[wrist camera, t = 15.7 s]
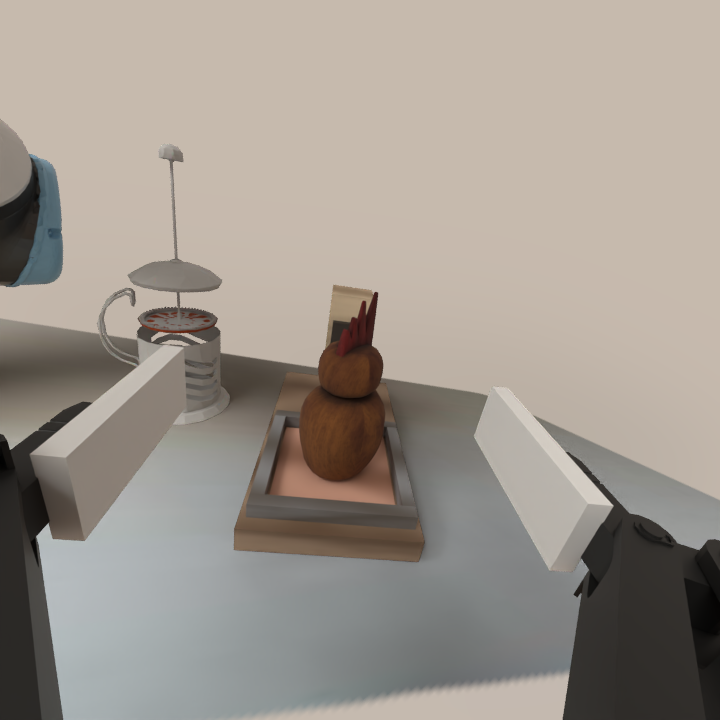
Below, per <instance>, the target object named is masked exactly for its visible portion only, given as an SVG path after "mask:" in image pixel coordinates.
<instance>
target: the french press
mask: <svg viewBox="0 0 720 720" xmlns="http://www.w3.org/2000/svg"><path fill="white" fill-rule="evenodd" d="M158 152H159V157H160V158H163V159H168V160H169V161H170V171H171V172H170V173H171V191H172V210H173V229H174V248H175V259H172V260H170V261H161V262H160V261H159V262H152V263H149V264H147V265H144V266H143V267H141V268H139V269H137V270H135V271H133V272H131V273H130V274H128V277H129V278H130V281H131V282H132V283H133V284H134V285H137V286H140V287H143V288H148V289H153V290H158V291H169V292H177V303H178V308H176V307H174V308H173V307H171V308H169V307H168V308H166V307H165V308H158V309H152V310H149V311H146V312H144V313H143V314H141V315H140V316H139V317H138V320H139V322H140V323H141V325H142V327H140V328H139V330H138V331H137V334H138V336H137V342H138V352H139V358H138V357H136V356H134V355H131V354H128V353H125V352H123V351H122V350H120V349H119V348H117V347H116V346H115V345H114V344H113V343H112V341H111V340H110V339H109V337H108V335H107V333H106V329H105V324H104V314H105V310H106V308H107V307H108V306H109V305H110V304H111V303H112V302H113V301H114V300H115V299H117V298H119V297H122V296H124V295H128V296H129V297H130V302H131V305H132V306H134V305H135V301H136V300H135V291H133V289H131V288H125V289H123V290H120V291H118V292H115V293H114V294H113V295H112V296H111V297H110V298H108V299H107V300H106V302H105V304H104V306H103V308H102V311H101V313H100V315H99V319H98V323H97V325H98V330H99V334H100V338H101V341H102V343H103V345H104V347H105V348H106V349H107V351H108V352H109V353H110V354H111V355H112V356H114V357H116V358H117V359H119V360H120V361H123V362H126V363H128V364H131V365H134V366H136V367H138V366H139V365H140V364H141V363H143V362H144V361H145V360H146V359H147V358H149V357H150V356H151V355H152V354H154V353H155V352H156V351H157V350H159V349H160V348H161V347H162V346H163V345H158V344H159V343H162V342H164V341H168V340H180V341H183V342H186V343H188V344H190V345H191V346H182V345H171V344H170V345H169V346H177V347H184V357H185V362H187V363H189V364H191V365H193V366H196V367H198V368H196V367H191V366H187V365H185V379H186V402H187V406H186V407H185V409H184V410H183V411H182V412H181V414H180V415H179V416H178V418H177V419H176V420H175V422H174V423H173V424H172V425H186V424H191V423H195V422H200V421H205V420H207V419H209V418H211V417H213V416H215V415H217V414H219V413H221V412H222V411H223V410H224V409H225V408H226V407H227V406H228V405H229V400H230V395H229V394H228V392H227V391H226V390H225V388H223V387H222V386H221V376H220V330H219V329H218V328H217V327H215V324H216V322H217V319H218V318H217V317H215V315H213V314H212V313H209V312H206V311H204V310H203V311H202V310H198V309H197V310H196V309H195V308H194V309H193V308H192V309H189V308H180V296H179V292H205V291H211V290H215V289H217V288H219V286H220V284H221V283H222V280H221V279H220V278H219V277H218V276H216V275H215V274H214V273H213V272H211V271H210V270H207V269H205V268H203V267H201V266H198V265H195V264H192V263H188V262H183V261H181V260H179V259H178V258H177V240H176V220H175V200H174V182H173V162H174V161H180V162H183V154H182V152H181V151H180V149H179V148H178V147H176V146H174V145H171V144H163V145H162V146H161V147H160V148H159V151H158ZM127 290H129V291H131V294H130V293H126V292H125V291H127ZM122 292H124V293H122ZM120 293H122V294H120ZM118 294H120V295H118ZM102 331H103V333H104V335H105V337H106V340H107V341H108V342H109V344H110V345H111V346H112V348H114V349H115V350H117V351H118V352H120V353H121V354H123V355H126V356H129V357H132V358H135V359H137V360H138V362H139V365H137V364H135V363H133V362H130V361H127V360H124V359H122V358H120V357H118V356H117V355H115V354H114V353H113V352H112V351H111V350H110V348H109V347H108V346H107V344H106V342H105V340H104V338H103V335H102ZM158 332H165V333H172V334H168V335H165V336H163V337H159V338H157V339H156V340H155V341H153V342H152V343H151V337H152V336H154V335H155V334H156V333H158ZM173 333H189V334H191V335H193V336H195V337H197V338H200V339H202V340H205V341H208V342H207V343H203V344H200V343H197V342H195V341H193V340H191V339H189V338H186V337H184V336H182V335H175V334H174V335H173ZM198 362H200V363H198ZM206 362H210V363H213V367H208V366H206V365H203V364H201V363H206ZM211 373H214V376H213V377H211V376H207V375H205V374H211Z"/></svg>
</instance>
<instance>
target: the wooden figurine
mask: <svg viewBox="0 0 720 720" xmlns="http://www.w3.org/2000/svg"><path fill="white" fill-rule="evenodd" d="M377 298H378V293H377V292H375V293H374V295H373V298H372V300H371V303H370V306H369V309H368V311H367V314H366V301H364V300H363V301H362V303H361V307H360V310H359V314H358V317H357V318H355V317H352V318H351V322H350V325H349V329H348V330H346V329H343V332H342V335H341V338H340V341H335V342H333V343H330V344H329V345H328V347H327V348H326V349H325V350H324V351H323V353H322V355H321V357H320V361H319V366H318V375H319V381H320V384H321V385H319V386H317V387H316V388H315V389H314V390H312V391H311V392H310V393H309V395H308V396H307V397H306V399H305V401H304V403H303V405H302V407H301V412H300V418H299V434H300V442H301V446H302V451H303V456H304V460H305V462H306V464H307V466H308V467H309V468H310V470H311V471H312V472H313V473H314V474H316V475H317V476H319V477H320V478H323V479H328V480H343V479H347V478H351V477H353V476H355V475H357V474H359V473H360V472H361V471H362V470H363V469H364V468H365V467H366V466H367V465H368V464H369V463H370V461H371V460H372V458H373V457H374V456H375V454H376V452H377V450H378V448H379V446H380V444H381V440H382V436H383V430H384V423H385V414H386V413H385V408H384V404H383V402H382V400H381V397H380V396H379V394H378V392H377V391H376V389H377V387H378V386H379V384H380V380H381V377H382V373H383V360H382V357H381V355H380V353H379V352H378V350H377V349H376V348H374V347H373V346H372V338H373V331H374V324H375V316H376V308H377V300H378V299H377Z"/></svg>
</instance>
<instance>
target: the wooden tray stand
mask: <svg viewBox="0 0 720 720" xmlns="http://www.w3.org/2000/svg"><path fill="white" fill-rule="evenodd" d="M372 298H373V293H372V291H371V290H366V289H358V288H352V287H345V286H338V285H333V292H332V300H331V308H330V317H329V324H328V332H327V340H326V348H327V347H328V345H329V344H330V343H333V342H335V341H340V338H341V335H342V332H343V329H346V330H348V329H349V325H350V322H351V318H352V317H355V318H357V317H358V314H359V310H360V307H361V303H362V301H363V300H364V301H366V314H367V311H368V309H369V306H370V303H371V300H372ZM326 348H325V349H326ZM319 385H321V384H320V381H319V375H311V374H302V373H294V372H287V374H286V377H285V380H284V383H283V385H282V388H281V391H280V394H279V397H278V400H277V403H276V406H275V409H274V412H273V415H272V418H271V421H270V424H269V427H268V430H267V433H266V436H265V439H264V442H263V445H262V448H261V451H260V454H259V457H258V460H257V463H256V466H255V469H254V472H253V475H252V478H251V481H250V484H249V487H248V490H247V493H246V496H245V499H244V502H243V504H242V507H241V510H240V513H239V516H238V519H237V522H236V525H235V528H234V550H243V551H259V552H274V553H289V554H305V555H320V556H335V557H351V558H366V559H382V560H397V561H412V562H419V558H420V555H421V552H422V549H423V546H424V543H425V542H424V538H423V534H422V529H421V525H420V521H419V517H418V513H417V509H416V505H415V501H414V497H413V493H412V488H411V484H410V480H409V476H408V472H407V468H406V464H405V460H404V456H403V452H402V447H401V443H400V439H399V435H398V431H397V427H396V423H395V419H394V415H393V411H392V407H391V402H390V398H389V394H388V390H387V386H386V383H380V384H379V386H378V387H377V389H376V391H377V392H378V394H379V396H380V397H381V400H382V402H383V404H384V408H385V413H386V414H385V423H384V430H383V436H382V440H381V444H380V446H379V448H378V450H377V452H376V454H375V456H374V457H373V458H372V460H371V461H370V463H369V464H368V465H367V466H366V467H365V468H364V469H363V470H362V471H361V472H360V473H359V474H357V475H355V476H353V477H351V478H347V479H343V480H328V479H323V478H320V477H319V476H317V475H316V474H314V473H313V472H312V471H311V470H310V468H309V467H308V466H307V464H306V462H305V460H304V456H303V451H302V446H301V442H300V434H299V418H300V412H301V407H302V405H303V403H304V401H305V399H306V397H307V396H308V395H309V393H310V392H311V391H312V390H314V389H315V388H316V387H317V386H319Z"/></svg>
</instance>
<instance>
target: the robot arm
mask: <svg viewBox="0 0 720 720" xmlns="http://www.w3.org/2000/svg"><path fill="white" fill-rule="evenodd" d="M61 221H62V219H61V207H60V198H59V189H58V182H57V176H56V172H55V169H54V167H53V166H52V164H50V163H49V162H48V161H47V160H44V159H40V158H38V157H36V156H35V155H32V154H28V152H27V150H26V147H25V146H24V144H23V142H22V140H21V139H20V138H19V137H18V135H17V134H16V133H15V132H14V131H13V130H12V129H11V128H10V127H9V126H8V125H7V124H6V123H4V122H3V121H2V120H1V119H0V285H3V286H6V287H16V286H19V285H32V284H48V283H51V282H54V281H55V280H56V279H57V278H58V277H59V276H60V274H61V271H62V265H63V242H62V234H61V230H62V227H61ZM186 406H187V402H186V379H185V357H184V347H177V346H169V345H163V346H162V347H161V348H160V349H159V350H157V351H156V352H155V353H154V354H152V355H151V356H150V357H149V358H147V359H146V360H145V361H144V362H143V363H141V364H140V365H139V366H138V367H136V368H135V369H134V370H133V371H131V372H130V373H129V374H128V375H127V376H125V377H124V378H123V379H122V380H120V381H119V382H118V383H117V384H115V385H114V386H113V387H112V388H111V389H109V390H108V391H107V392H106V393H104V394H103V395H102V396H101V397H99V398H98V399H97V400H96V401H95V402H93V403H90V402H81V403H79V404H76V405H74V406H72V407H69V408H67V409H65V410H63V411H62V412H60V413H59V414H58V415H56V416H55V417H54V418H52V419H51V420H50V422H47V423H46V424H44V425H43V426H42V427H40V428H39V431H35V432H34V433H33V434H31V435H30V436H29V437H27V438H26V439H25V440H23V441H22V442H21V443H19V444H18V445H17V446H15V447H14V448H13V449H11V450H10V449H9V445H8V442H7V440H6V438H5V437H4V435H2V434H0V720H63V714H62V707H61V700H60V693H59V686H58V679H57V672H56V665H55V658H54V651H53V644H52V637H51V630H50V623H49V616H48V609H47V601H46V594H45V587H44V580H43V573H42V566H41V559H40V552H39V545H38V542H37V538H36V536H37V535H38V534H39V533H40V531H41V530H42V529H43V528H44V527H45V526H46V525H47V524H48V523H49V527H50V530H51V534H52V538H53V539H62V540H78V541H85V540H86V538H87V537H88V536H89V534H90V533H91V532H92V530H93V529H94V528H95V527H96V525H97V524H98V523H99V521H100V520H101V519H102V517H103V516H104V515H105V513H106V512H107V511H108V509H109V508H110V507H111V505H112V504H113V503H114V501H115V500H116V499H117V497H118V496H119V495H120V493H121V492H122V491H123V489H124V488H125V487H126V485H127V484H128V483H129V481H130V480H131V479H132V477H133V476H134V475H135V473H136V472H137V471H138V469H139V468H140V467H141V466H142V464H143V463H144V462H145V460H146V459H147V458H148V456H149V455H150V454H151V452H152V451H153V450H154V448H155V447H156V446H157V444H158V443H159V442H160V440H161V439H162V438H163V436H164V435H165V434H166V432H167V431H168V430H169V428H170V427H171V426H172V424H173V423H174V422H175V420H176V419H177V418H178V416H179V415H180V414H181V412H182V411H183V410H184V409H185V407H186ZM474 438H475V440H476V441H477V443H478V445H479V447H480V448H481V450H482V452H483V454H484V456H485V457H486V459H487V461H488V463H489V464H490V466H491V468H492V470H493V472H494V473H495V475H496V477H497V479H498V480H499V482H500V484H501V486H502V487H503V489H504V491H505V493H506V495H507V496H508V498H509V500H510V502H511V503H512V505H513V507H514V509H515V510H516V512H517V514H518V516H519V518H520V519H521V521H522V523H523V525H524V526H525V528H526V530H527V532H528V533H529V535H530V537H531V539H532V541H533V542H534V544H535V546H536V548H537V549H538V551H539V553H540V555H541V556H542V558H543V560H544V562H545V564H546V565H547V567H548V569H549V571H561V572H573V571H574V569H575V568H576V566H577V565H578V563H579V561H580V560H581V558H582V560H583V561H584V563H585V564H586V566H587V567H588V569H589V571H588V572H587V574H586V576H585V577H584V579H583V580H582V582H581V583H580V585H579V586H578V588H577V590H576V591H575V593H574V595H575V596H576V597H578V596H579V594H580V593H582V595H581V602H580V608H579V615H578V621H577V628H576V635H575V641H574V648H573V655H572V661H571V668H570V674H569V681H568V688H567V694H566V701H565V708H564V714H563V720H720V541H719V540H715V539H714V540H708V541H707V542H706V543H705V544H704V546H703V547H702V548H701V549H700V551H699V550H696V549H693V548H690V547H687V546H684V545H681V544H678V543H677V542H676V541H675V539H674V538H673V537H672V536H671V535H670V534H669V533H668V532H667V531H666V530H664V529H663V528H662V527H661V526H659V525H658V524H656V523H654V522H653V521H651V520H649V519H647V518H644V517H642V516H639V515H635V514H629V513H628V511H627V510H626V509H625V508H624V507H623V506H622V505H621V504H620V503H619V502H618V501H617V500H616V498H615V497H614V496H613V495H612V494H611V493H610V492H609V491H608V490H607V489H606V488H605V487H604V485H603V484H600V481H599V480H598V479H597V478H596V477H595V476H594V475H592V472H591V471H590V470H589V469H588V468H587V467H586V466H585V465H584V464H583V463H582V462H581V461H580V460H578V459H577V458H576V457H574V456H573V455H571V454H570V453H569V452H565V451H564V450H563V449H562V448H561V447H560V446H559V444H558V443H557V442H556V441H555V440H554V439H553V438H552V437H551V436H550V434H549V433H548V432H547V431H546V430H545V429H544V428H543V427H542V425H541V424H540V423H539V422H538V421H537V420H536V419H535V418H534V417H533V415H532V414H531V413H530V412H529V411H528V410H527V409H526V408H525V406H523V404H522V403H521V402H520V401H519V400H518V399H517V398H516V396H515V395H514V394H513V393H512V392H511V391H510V390H509V389H508V388H503V387H495V386H492V387H491V390H490V393H489V396H488V398H487V401H486V404H485V407H484V409H483V412H482V415H481V418H480V421H479V423H478V426H477V429H476V432H475V435H474Z"/></svg>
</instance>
